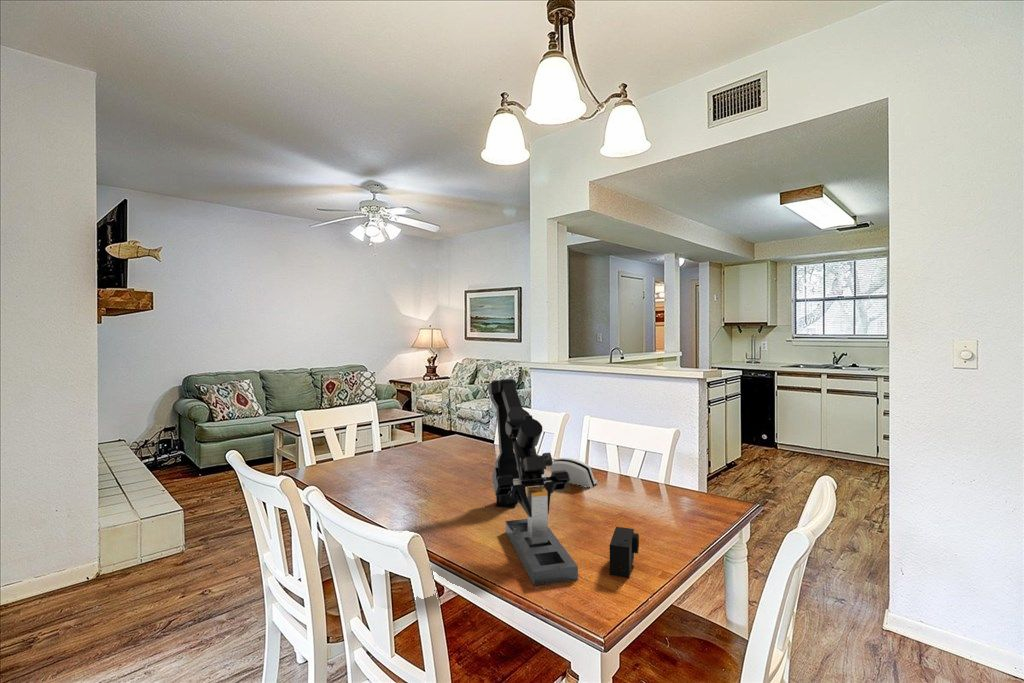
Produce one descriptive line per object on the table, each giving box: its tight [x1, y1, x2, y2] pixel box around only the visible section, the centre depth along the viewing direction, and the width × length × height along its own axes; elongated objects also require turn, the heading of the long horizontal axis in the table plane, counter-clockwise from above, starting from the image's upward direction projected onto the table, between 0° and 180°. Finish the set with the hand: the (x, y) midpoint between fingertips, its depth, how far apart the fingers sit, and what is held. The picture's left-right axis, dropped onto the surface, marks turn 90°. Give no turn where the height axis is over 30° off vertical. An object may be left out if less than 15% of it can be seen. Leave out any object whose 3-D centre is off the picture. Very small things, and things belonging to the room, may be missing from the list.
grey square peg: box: [526, 485, 549, 544], centre depth 116 cm, size 4×4×12 cm
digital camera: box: [609, 526, 640, 579], centre depth 109 cm, size 10×5×7 cm, turn 160°
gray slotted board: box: [505, 518, 579, 587], centre depth 116 cm, size 28×10×3 cm, turn 13°
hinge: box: [549, 457, 598, 488], centre depth 169 cm, size 17×5×10 cm, turn 50°
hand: (539, 515), depth 115 cm, fingers closed on grey square peg, 4 cm apart
